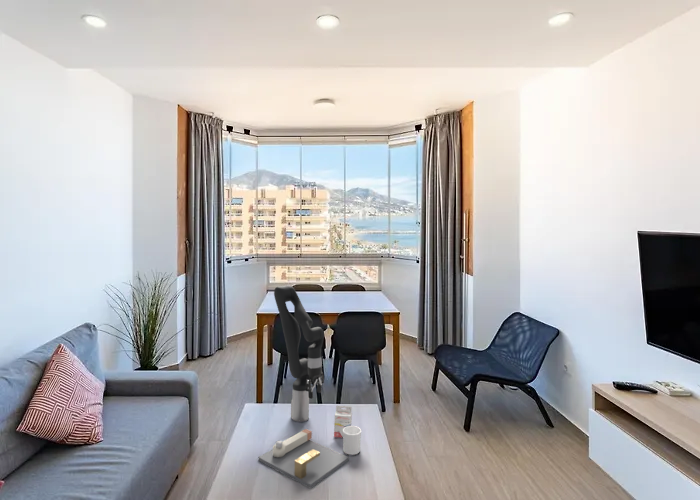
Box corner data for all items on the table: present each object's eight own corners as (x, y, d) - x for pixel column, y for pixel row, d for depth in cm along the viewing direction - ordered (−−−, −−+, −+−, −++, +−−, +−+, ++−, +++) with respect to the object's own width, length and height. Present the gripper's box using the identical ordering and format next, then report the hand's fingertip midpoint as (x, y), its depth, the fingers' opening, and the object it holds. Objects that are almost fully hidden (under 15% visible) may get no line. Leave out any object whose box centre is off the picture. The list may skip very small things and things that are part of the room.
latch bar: (278, 459, 185) (278, 447, 185) (270, 454, 188) (270, 442, 188) (312, 438, 203) (312, 428, 203) (304, 435, 207) (304, 424, 206)
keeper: (294, 478, 174) (294, 460, 173) (312, 466, 183) (313, 449, 183) (301, 482, 171) (301, 463, 171) (319, 469, 181) (319, 452, 180)
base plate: (258, 460, 187) (258, 457, 187) (298, 437, 208) (298, 434, 208) (310, 488, 168) (310, 484, 168) (348, 460, 189) (348, 457, 188)
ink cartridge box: (333, 437, 209) (334, 409, 208) (335, 432, 214) (335, 405, 213) (350, 438, 208) (351, 410, 207) (351, 433, 213) (352, 406, 212)
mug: (359, 457, 191) (359, 436, 191) (340, 455, 193) (341, 433, 192) (363, 445, 202) (363, 425, 201) (345, 443, 204) (345, 423, 203)
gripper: (315, 360, 225) (316, 389, 226) (301, 368, 212) (301, 399, 213) (327, 362, 222) (328, 391, 222) (313, 370, 209) (313, 401, 210)
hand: (315, 395), depth 218 cm, fingers open, 8 cm apart
